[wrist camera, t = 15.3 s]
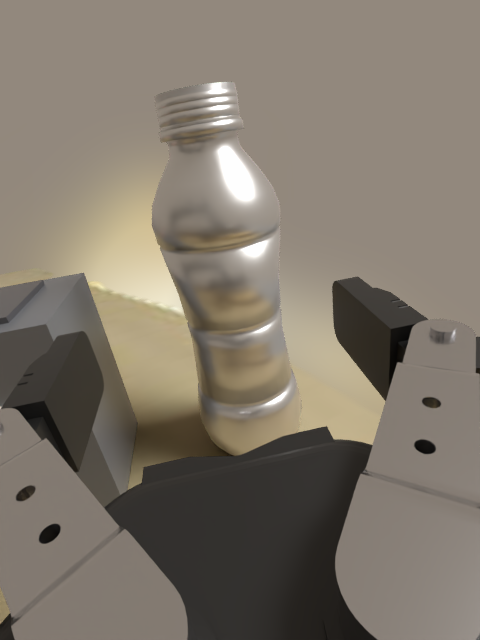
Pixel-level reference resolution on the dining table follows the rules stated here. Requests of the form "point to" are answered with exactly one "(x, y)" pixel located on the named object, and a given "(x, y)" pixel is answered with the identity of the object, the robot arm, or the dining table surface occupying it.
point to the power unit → (81, 315)
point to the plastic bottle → (225, 267)
